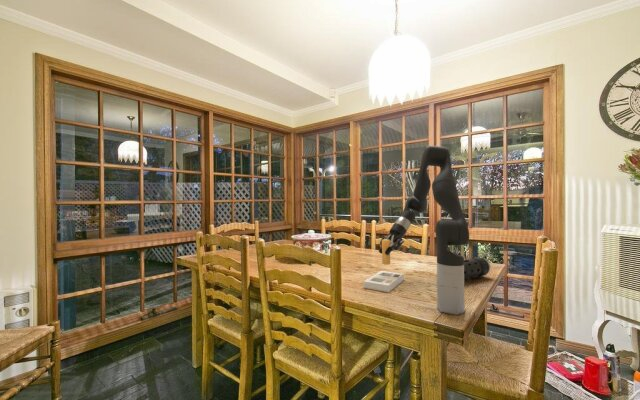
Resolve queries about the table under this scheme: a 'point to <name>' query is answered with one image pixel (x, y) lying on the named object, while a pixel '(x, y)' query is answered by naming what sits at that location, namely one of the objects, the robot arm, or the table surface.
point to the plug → (384, 247)
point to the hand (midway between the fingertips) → (383, 253)
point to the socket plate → (384, 281)
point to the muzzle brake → (475, 267)
